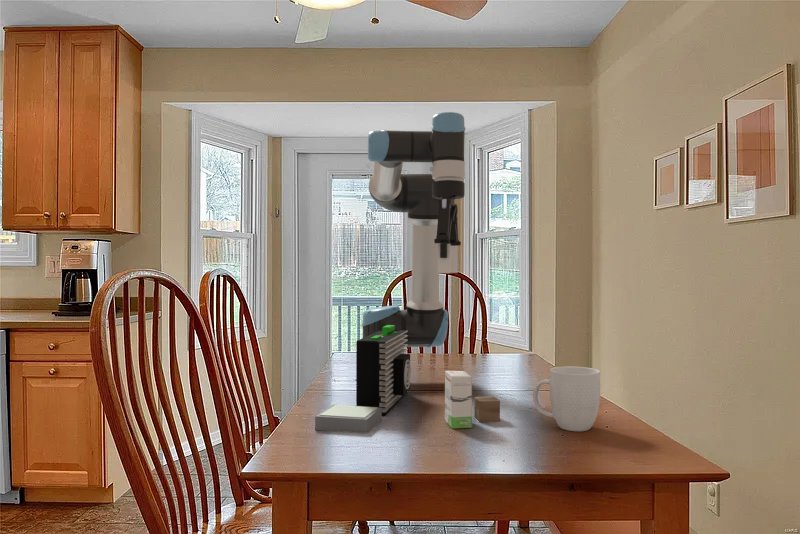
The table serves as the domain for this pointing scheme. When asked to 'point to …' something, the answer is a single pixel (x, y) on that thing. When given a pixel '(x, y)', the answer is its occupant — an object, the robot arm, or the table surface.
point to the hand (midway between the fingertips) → (448, 273)
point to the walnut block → (487, 409)
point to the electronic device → (382, 369)
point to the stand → (348, 418)
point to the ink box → (458, 399)
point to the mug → (572, 396)
